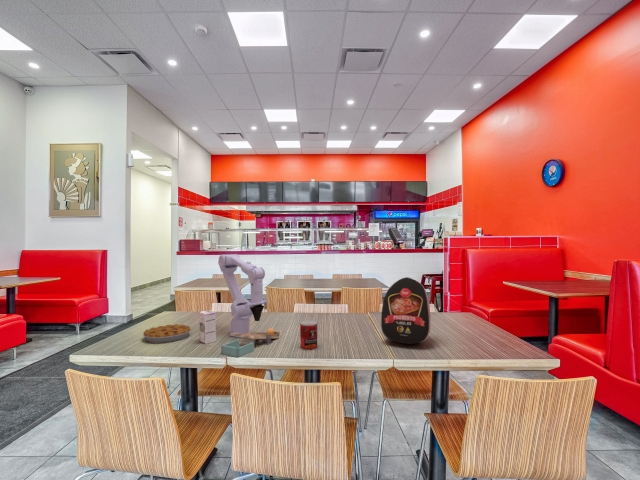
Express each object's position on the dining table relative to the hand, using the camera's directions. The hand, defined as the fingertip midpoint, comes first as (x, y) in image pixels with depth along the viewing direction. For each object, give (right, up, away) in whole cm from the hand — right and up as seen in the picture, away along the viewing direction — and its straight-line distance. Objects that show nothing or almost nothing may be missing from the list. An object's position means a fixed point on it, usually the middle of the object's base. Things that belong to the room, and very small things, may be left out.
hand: (257, 320), depth 156 cm
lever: (0, -7, -2) cm, 7 cm away
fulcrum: (+3, -9, -4) cm, 11 cm away
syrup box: (-23, -10, -2) cm, 25 cm away
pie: (-47, -10, +6) cm, 48 cm away
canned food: (+26, -9, -11) cm, 30 cm away
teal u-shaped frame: (-5, -9, -17) cm, 20 cm away
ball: (+6, -6, +1) cm, 9 cm away
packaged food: (+71, -9, -6) cm, 72 cm away
